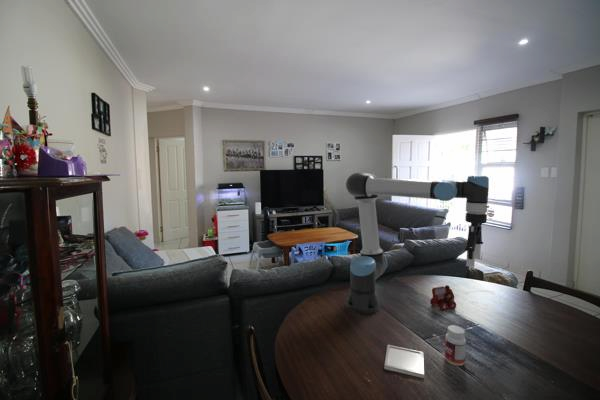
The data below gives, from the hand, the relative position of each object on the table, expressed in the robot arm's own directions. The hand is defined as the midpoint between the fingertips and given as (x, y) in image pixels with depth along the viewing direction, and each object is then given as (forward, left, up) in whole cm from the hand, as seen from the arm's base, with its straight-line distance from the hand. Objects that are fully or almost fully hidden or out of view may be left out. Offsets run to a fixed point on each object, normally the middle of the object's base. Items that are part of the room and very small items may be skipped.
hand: (473, 262), depth 119 cm
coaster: (-26, -39, -26) cm, 53 cm away
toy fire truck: (-10, +9, -26) cm, 30 cm away
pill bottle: (-10, -32, -26) cm, 42 cm away
